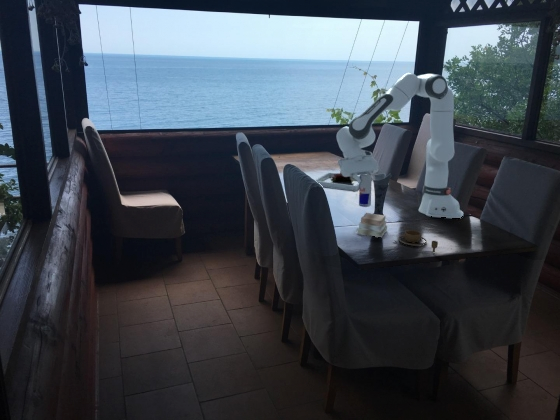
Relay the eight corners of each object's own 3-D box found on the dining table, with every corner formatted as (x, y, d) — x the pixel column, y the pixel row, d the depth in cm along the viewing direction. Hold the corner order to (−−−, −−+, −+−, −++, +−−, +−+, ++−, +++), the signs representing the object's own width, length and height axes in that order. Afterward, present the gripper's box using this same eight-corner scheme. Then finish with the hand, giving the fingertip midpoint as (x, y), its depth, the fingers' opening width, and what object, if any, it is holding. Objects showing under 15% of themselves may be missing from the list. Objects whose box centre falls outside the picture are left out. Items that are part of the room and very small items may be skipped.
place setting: (430, 239, 219) (432, 227, 217) (438, 256, 200) (440, 243, 198) (391, 237, 221) (392, 224, 219) (395, 253, 202) (396, 240, 200)
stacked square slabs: (386, 230, 228) (388, 215, 225) (381, 237, 218) (382, 222, 216) (363, 226, 232) (364, 211, 230) (357, 233, 222) (358, 218, 220)
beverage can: (363, 204, 238) (364, 173, 234) (373, 205, 234) (374, 175, 230) (356, 206, 234) (357, 175, 230) (365, 208, 230) (366, 176, 226)
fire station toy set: (351, 181, 320) (352, 165, 317) (356, 189, 301) (357, 172, 298) (329, 181, 320) (330, 164, 316) (333, 189, 301) (334, 171, 297)
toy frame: (368, 181, 319) (368, 177, 319) (355, 191, 296) (356, 186, 295) (328, 176, 331) (328, 172, 330) (313, 185, 307) (313, 180, 306)
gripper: (339, 155, 228) (350, 180, 223) (374, 151, 237) (386, 175, 232) (333, 163, 233) (344, 187, 228) (368, 159, 243) (379, 182, 237)
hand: (365, 181), depth 230 cm, fingers closed on beverage can, 5 cm apart
